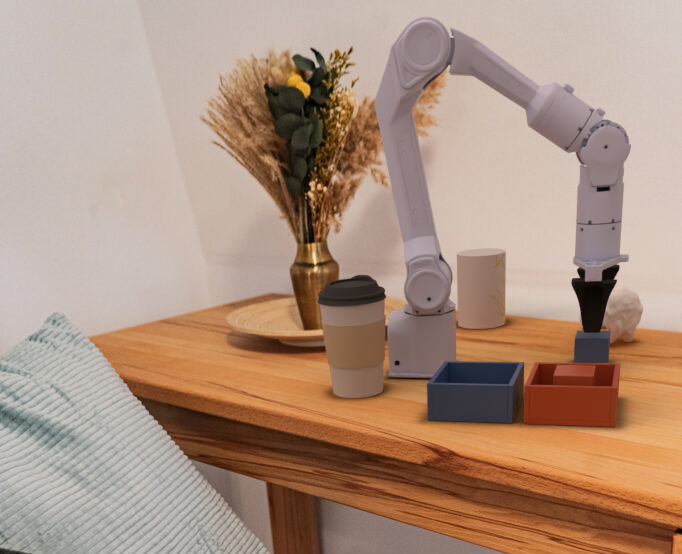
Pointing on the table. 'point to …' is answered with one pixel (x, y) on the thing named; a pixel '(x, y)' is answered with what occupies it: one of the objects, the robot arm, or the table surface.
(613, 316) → the white animal figurine
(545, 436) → the table surface
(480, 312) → the cup
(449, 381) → the blue bin
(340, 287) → the coffee cup
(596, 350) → the blue block
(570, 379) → the terracotta block
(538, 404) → the terracotta bin
